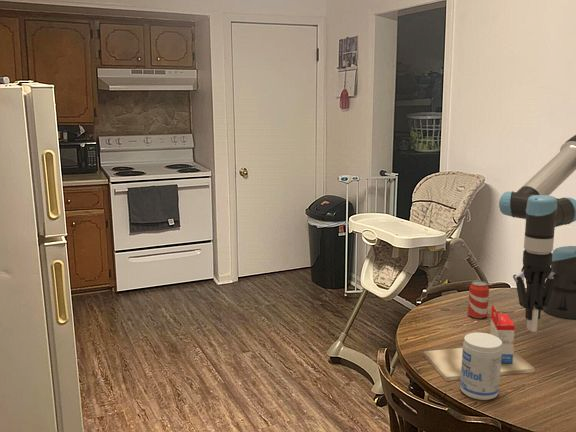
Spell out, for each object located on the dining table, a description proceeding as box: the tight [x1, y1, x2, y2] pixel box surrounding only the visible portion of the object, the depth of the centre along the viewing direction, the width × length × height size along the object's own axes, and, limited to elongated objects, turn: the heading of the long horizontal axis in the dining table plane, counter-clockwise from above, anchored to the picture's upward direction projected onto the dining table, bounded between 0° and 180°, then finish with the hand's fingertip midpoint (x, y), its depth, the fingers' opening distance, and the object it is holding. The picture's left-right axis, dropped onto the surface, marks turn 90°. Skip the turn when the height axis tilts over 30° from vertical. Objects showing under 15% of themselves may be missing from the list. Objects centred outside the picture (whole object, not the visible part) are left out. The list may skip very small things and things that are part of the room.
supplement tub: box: [459, 332, 502, 401], centre depth 149 cm, size 10×10×15 cm
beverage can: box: [467, 280, 490, 320], centre depth 199 cm, size 6×6×12 cm
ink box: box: [489, 304, 516, 364], centre depth 166 cm, size 8×5×15 cm, turn 174°
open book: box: [422, 347, 536, 382], centre depth 166 cm, size 26×16×2 cm, turn 99°
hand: (531, 329), depth 167 cm, fingers closed
